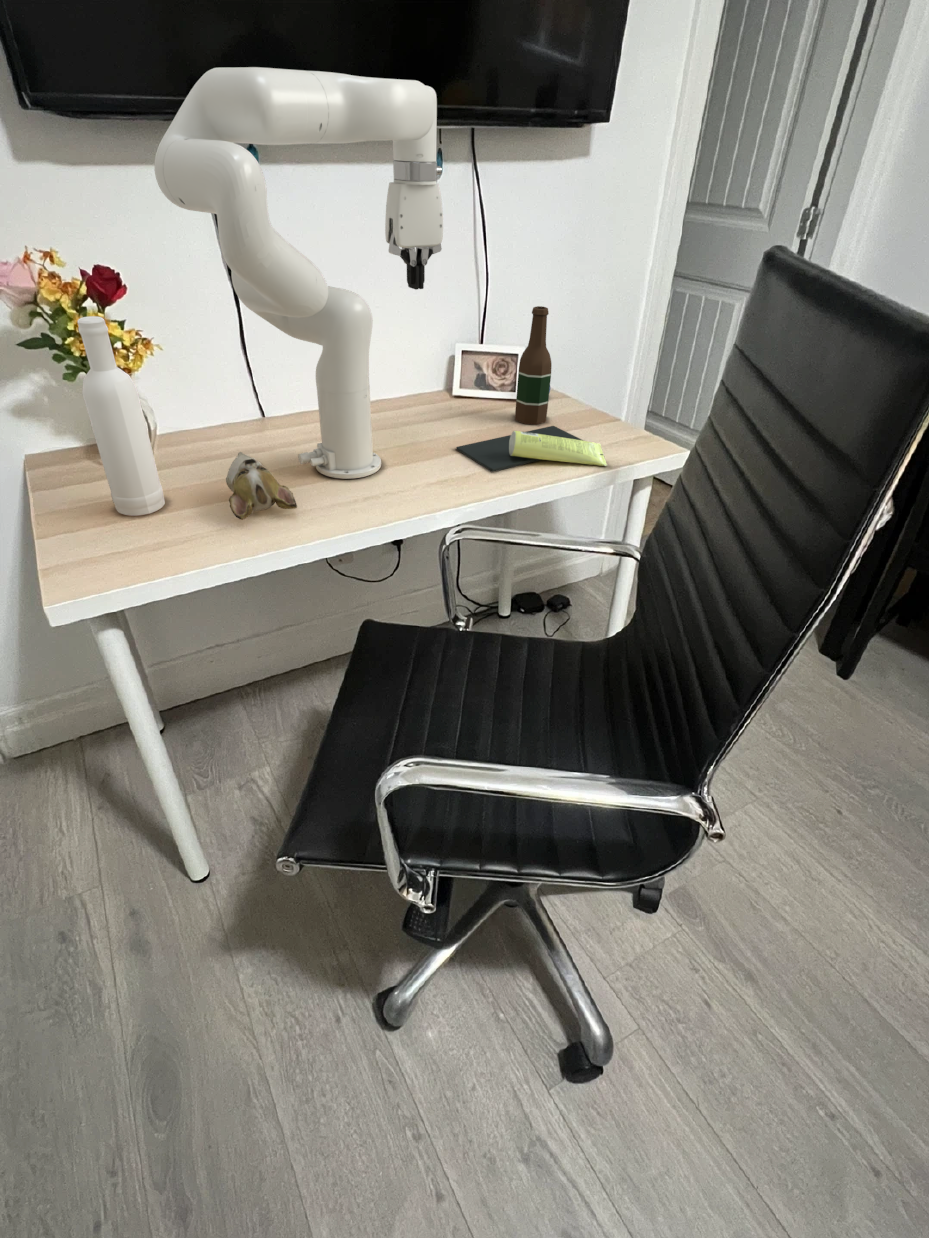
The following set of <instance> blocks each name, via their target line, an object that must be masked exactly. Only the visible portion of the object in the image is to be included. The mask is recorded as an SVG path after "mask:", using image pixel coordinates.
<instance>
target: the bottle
mask: <svg viewBox="0 0 929 1238" xmlns="http://www.w3.org/2000/svg"><path fill="white" fill-rule="evenodd" d="M76 323H77V325H78V328H77V330H78V333H79V334H80V337H81V339H82V343H83V346H84V351H85V354H86V358H87V361H88V365H89V368H90V369H89V370H88V371H87V373H86V374H85V376H84V377H83V379H82V391H81V392H82V393H81V396H82V398H83V401H84V405H85V409H86V413H87V416H88V420H89V421H90V425H91V429H92V432H93V436H94V439H95V443H96V446H97V449H98V453H99V456H100V459H101V463H102V467H103V469H104V473H105V476H106V480H107V484H108V487H109V490H110V496H111V499H112V503H113V504H114V507H115V510H116V511H117V512H118V514H121V515H124V516H130V517H141V516H146V515H150V514H153V513H156V512H157V511H159V510H160V509H162V508H163V507H164V506H165V504H166V501H165V496H164V488H163V486H162V484H161V479H160V475H159V472H158V468H157V463H156V460H155V456H154V451H153V447H152V443H151V438H150V435H149V432H148V428H147V423H146V419H145V414H144V411H143V407H142V403H141V398H140V394H139V390H138V386H137V385H136V383H135V382H134V380H133V379H132V377H131V376H130V374H128V373H127V372H125V371H124V370H123V369H121V368H120V367H118V366H117V362H116V359H115V355H114V351H113V347H112V343H111V339H110V335H109V327H108V325H107V324H106V320H105V319H104V318H103V317H102V316H97V315H96V316H95V315H94V316H93V315H89V316H82V317H80V318H78V319H77V322H76Z"/></svg>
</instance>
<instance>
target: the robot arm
mask: <svg viewBox="0 0 929 1238" xmlns="http://www.w3.org/2000/svg"><path fill="white" fill-rule="evenodd" d="M437 117H438V98H437V92H436V90H435V89H434V88H433V87H432V86H429V85H425V84H424V83H423V82H421V81H419V80H416V79H400V78H398V79H397V78H384V77H371V76H362V75H361V76H359V75H353V74H352V75H351V74H347V73H340V72H334V71H333V72H331V71H320V70H304V69H288V68H275V67H274V68H273V67H260V66H248V67H247V66H246V67H241V66H240V67H213V68H211V69H209V70H207V71H206V72H205V73H203V74H202V76H200V78H199V79H198V80H197V81H196V82H195V84H194V85H193V86H192V88H191V89H190V91H189V93H188V94H187V95H186V97H185V98H184V101H183V102H182V104H181V106H180V107H179V108H178V111H177V112H176V114H175V116H174V118H173V120H172V121H171V123H170V125H169V126H168V128H167V129H166V131H165V133H164V135H163V136H162V138H161V140H160V142H159V144H158V147H157V149H156V153H155V157H154V176H155V179H156V182H157V185H158V188H159V189H160V191H161V193H162V194H163V195H164V197H165V198H166V199H167V200H169V202H171V204H173V205H175V206H176V207H179V208H181V209H184V210H187V211H192V212H199V213H200V212H201V213H206V214H213V215H216V219H217V231H218V232H217V233H218V238H219V244H220V249H221V254H222V258H223V260H224V262H225V263H226V265H227V267H228V269H230V270H231V272H230V273H231V283H232V286H233V289H234V292H235V294H236V295H237V298H238V299H239V300H240V301H241V303H242V304H243V305H244V306H245V307H246V308H247V309H249V310H250V311H251V312H252V313H254V314H255V315H257V316H258V317H260V318H262V319H263V320H265V322H268V323H269V324H270V325H271V326H274V327H275V328H277V329H278V330H279V331H281V332H282V333H284V334H286V335H288V336H289V337H291V338H294V339H297V340H300V341H303V342H307V343H312V344H315V345H316V344H317V345H318V346H321V347H322V350H321V354H320V356H319V358H318V361H317V364H316V367H315V385H316V386H315V387H316V396H317V405H318V417H319V426H320V427H319V428H320V437H321V439H320V441H321V442H318V443H316V448H315V449H313V450H312V451H308V452H307V451H306V452H302V453H298V454H297V460H298V463H299V464H300V465H303V464H308V463H309V464H310V466H311V467H315V469H316V470H317V472H319V473H320V474H322V475H324V476H326V477H329V478H334V479H341V480H343V479H344V480H350V479H351V480H352V479H360V478H364V477H368V476H371V475H373V474H375V473H376V472H378V471H379V470H380V469H381V467H382V459H381V457H380V456H379V455H378V454H377V453H376V452H374V451H373V450H374V449H373V429H372V427H373V426H372V406H371V405H372V404H371V387H370V345H371V339H372V332H373V321H374V320H373V313H372V310H371V307H370V305H369V303H368V301H366V299H365V298H363V296H362V295H360V294H358V293H356V292H355V291H352V290H350V289H346V288H342V287H341V288H340V287H335V286H331V285H328V283H327V280H326V278H325V276H324V275H323V273H322V271H321V270H320V269H319V267H318V266H316V264H315V263H314V262H313V261H311V260H310V259H309V258H308V257H307V256H305V255H304V254H303V253H302V252H301V251H299V250H298V249H297V248H296V247H295V246H294V245H292V244H291V243H290V242H289V241H288V240H287V239H285V238H284V237H283V236H282V235H281V234H280V233H279V232H278V231H277V230H276V229H275V228H274V227H273V225H272V223H271V220H270V214H269V206H268V192H267V191H268V189H267V183H266V178H265V175H264V172H263V169H262V167H261V164H260V163H259V162H258V160H257V158H255V156H254V154H253V153H251V152H250V151H249V150H248V149H247V148H246V147H243V146H242V145H240V144H250V145H261V146H287V145H288V146H289V145H290V146H291V145H308V144H309V145H320V144H323V145H324V144H325V145H327V144H352V143H361V142H377V141H379V142H381V141H385V142H386V141H392V165H393V167H392V168H393V169H392V170H393V171H392V172H393V182H389V183H388V187H387V195H386V202H385V203H386V204H385V221H384V222H385V223H384V225H385V227H384V228H385V229H384V231H385V232H384V234H385V242H386V243H387V244H389V245H388V253H389V254H391V255H395V256H398V257H400V259H401V260H402V261H403V263H404V264H405V265H406V283H407V286H408V288H410V289H412V290H415V291H416V290H424V287H425V284H424V283H425V279H426V277H425V276H426V274H425V273H426V272H425V270H426V269H425V266H427V265H428V261H429V259H431V257H432V256H433V255H435V254H437V253H440V252H442V249H443V248H442V242H443V238H444V211H443V200H442V193H441V188H440V184H439V183H438V182H437V178H438V176H441V175H442V172H443V169H442V166H440V165H438V162H437V143H438V142H437V139H438V138H437V135H438V134H437V133H438V132H437V129H438V128H437V126H438V124H437V121H438V120H437V119H438V118H437Z"/></svg>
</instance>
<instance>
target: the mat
mask: <svg viewBox="0 0 929 1238" xmlns="http://www.w3.org/2000/svg"><path fill="white" fill-rule="evenodd" d="M526 432H529V433H536V434H543V435H549V436H556V437H563V438H569V439H576V440H582V441H584V440H583V439H581V438H579V437H577V436H575V435H573V434H571V433H570V432H567V431H566V430H563V429H561V428H559V427H557V426H555V425H550V426H546V427H540V428H537V429H532V430H528V431H526ZM510 437H511V434H509V435H505V436H500V437H495V438H490V439H486V440H482V441H477V442H473V443H468V444H464V445H459V446H456V447H455V449H456V451H458V452H459V453H461V454H463V455H464V456H466V457H467V458H469V459H471V460H472V461H474V462H476V463H477V464H479V465H480V466H482V467H484V468H485V469H486V470H489V471H490V472H492V473H494V472H498V471H502V470H507V469H510V468H515V467H518V466H523V465H527V464H531V463H535V462H539V461H543V459H534V458H525V457H517V456H511V455H510V453H509V440H510Z"/></svg>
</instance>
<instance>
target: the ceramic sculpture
mask: <svg viewBox="0 0 929 1238" xmlns="http://www.w3.org/2000/svg"><path fill="white" fill-rule="evenodd" d="M225 483H226V486H227V487H228V489H229V490H230V491H231V492H232V494H231V495H230V496H229V499H228V502H229V508H230V510H231V512H232V514H233V516H234V517H235V518H237V519H238V520H241V521H243V520H245V519H247V518H248V517H250V516H252V515H253V512H259V511H264V510H268V509H270V508H272V507H273V506H274V505H275V504H276V506H277V507H278V508H280V509H284V510H294V509H297V508H298V505H297V502H296V499H295V496H294V493H293V492H292V490H290V489H289V486H286V485H283V484H280V483H278V481H277V479H276V477H275V476H274V475H273V473H272V472H271V471H270V470H269V469H268V468H267V467H265V466H264V465H263V463H261V462H260V461H259V460H257V459H256V458H254V457H252V456H249V455H247V454H246V453H243V452H242V451H239V452H238V453H237V455H236V457H235V458H234V459H233V461H232V462H231V464H230V466H229V468H228V471H227V475H226V476H225Z"/></svg>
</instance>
